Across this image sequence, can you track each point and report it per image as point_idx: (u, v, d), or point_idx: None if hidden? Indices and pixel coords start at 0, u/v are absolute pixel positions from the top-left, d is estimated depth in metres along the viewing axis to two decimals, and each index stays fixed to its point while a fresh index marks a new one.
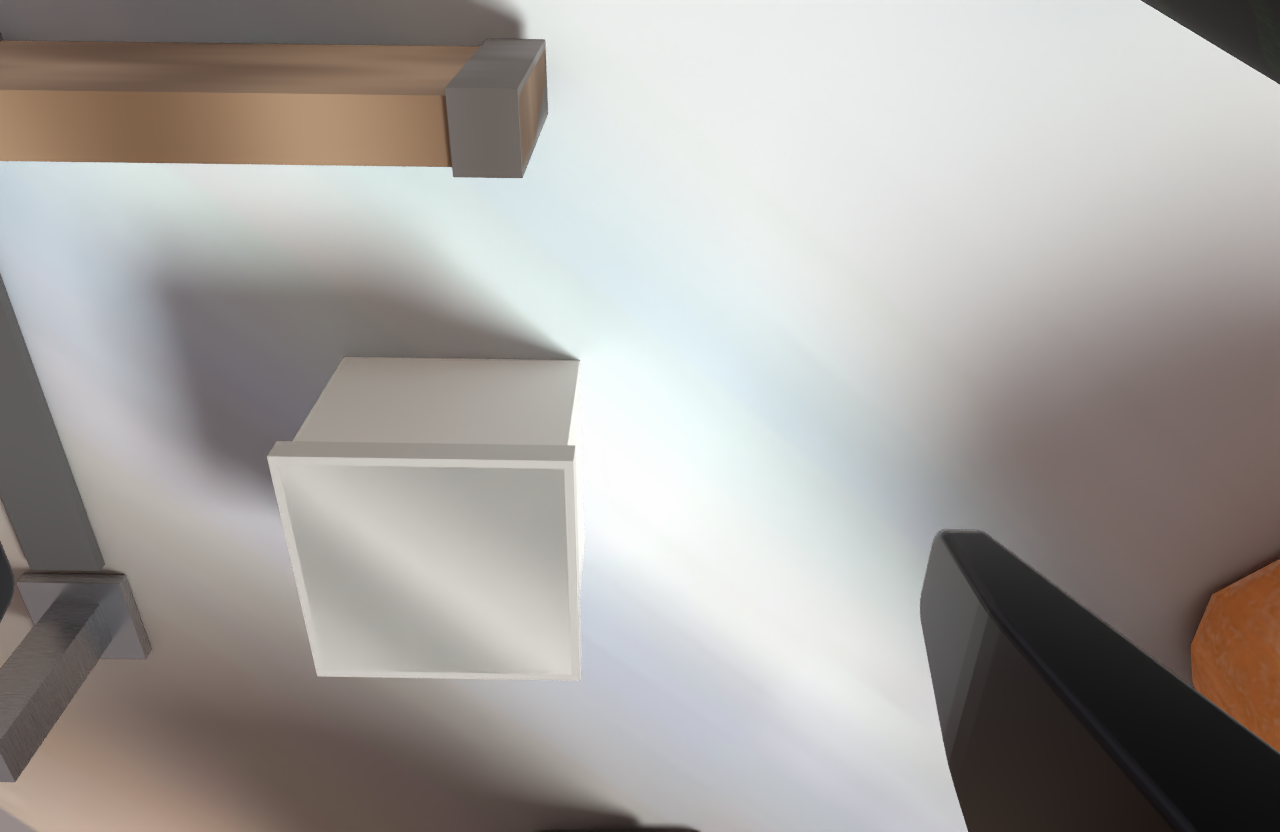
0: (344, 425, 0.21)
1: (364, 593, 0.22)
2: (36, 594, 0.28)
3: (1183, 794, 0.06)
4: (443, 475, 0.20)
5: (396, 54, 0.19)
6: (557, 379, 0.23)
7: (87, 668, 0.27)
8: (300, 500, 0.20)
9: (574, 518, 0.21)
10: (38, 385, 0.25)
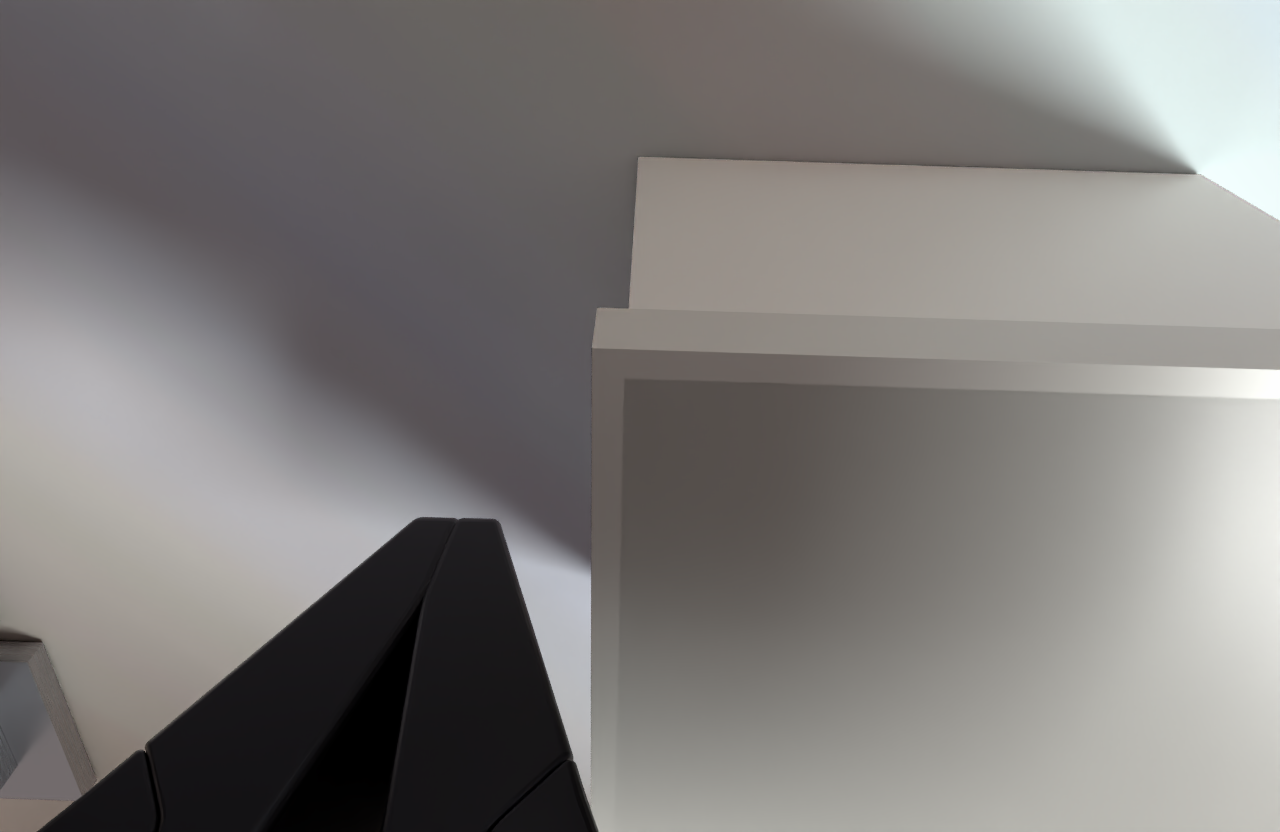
0: (758, 283, 0.07)
1: (780, 772, 0.08)
2: None
3: (417, 776, 0.06)
4: (1178, 427, 0.06)
5: None
6: (1207, 207, 0.09)
7: None
8: (666, 502, 0.06)
9: None
10: None
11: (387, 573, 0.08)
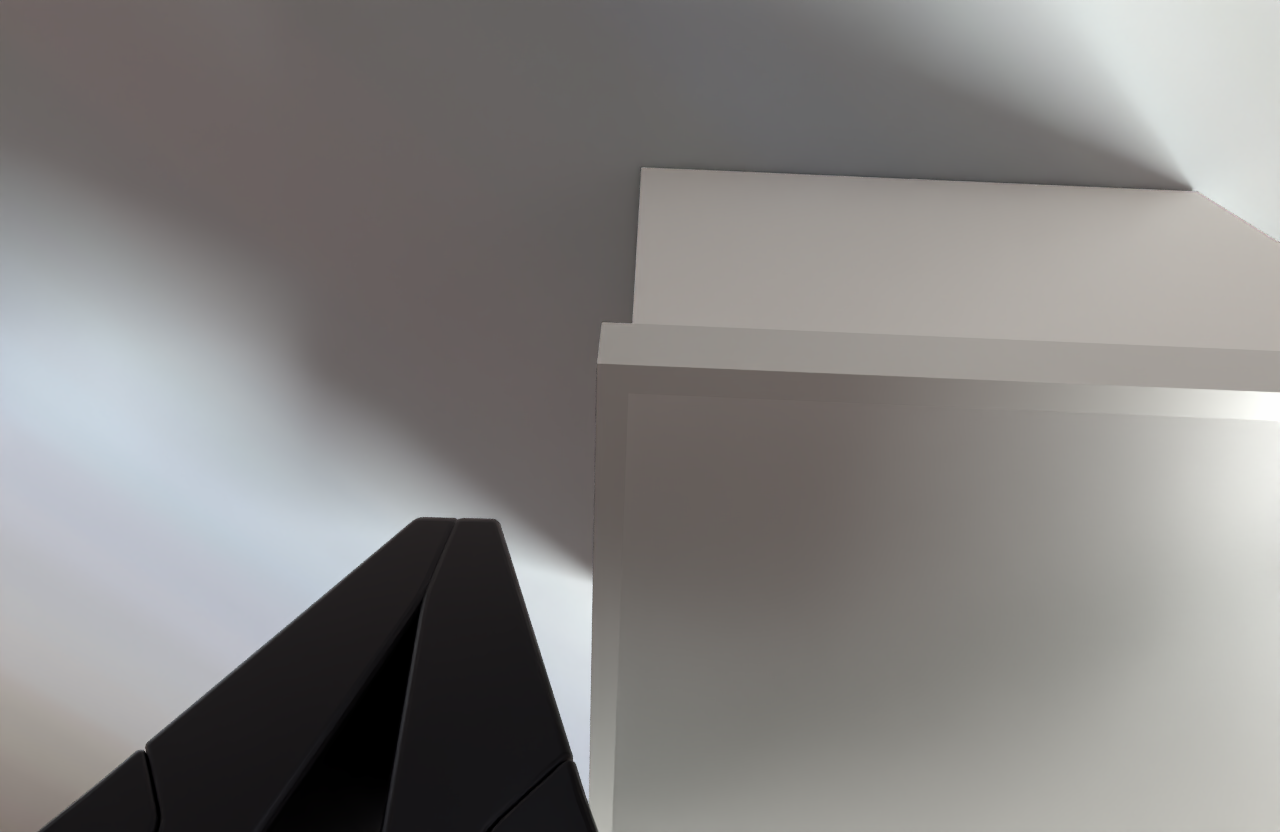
0: (758, 298, 0.07)
1: (776, 780, 0.08)
2: None
3: (417, 776, 0.06)
4: (1171, 447, 0.06)
5: None
6: (1203, 224, 0.09)
7: None
8: (668, 515, 0.06)
9: None
10: None
11: (387, 573, 0.08)
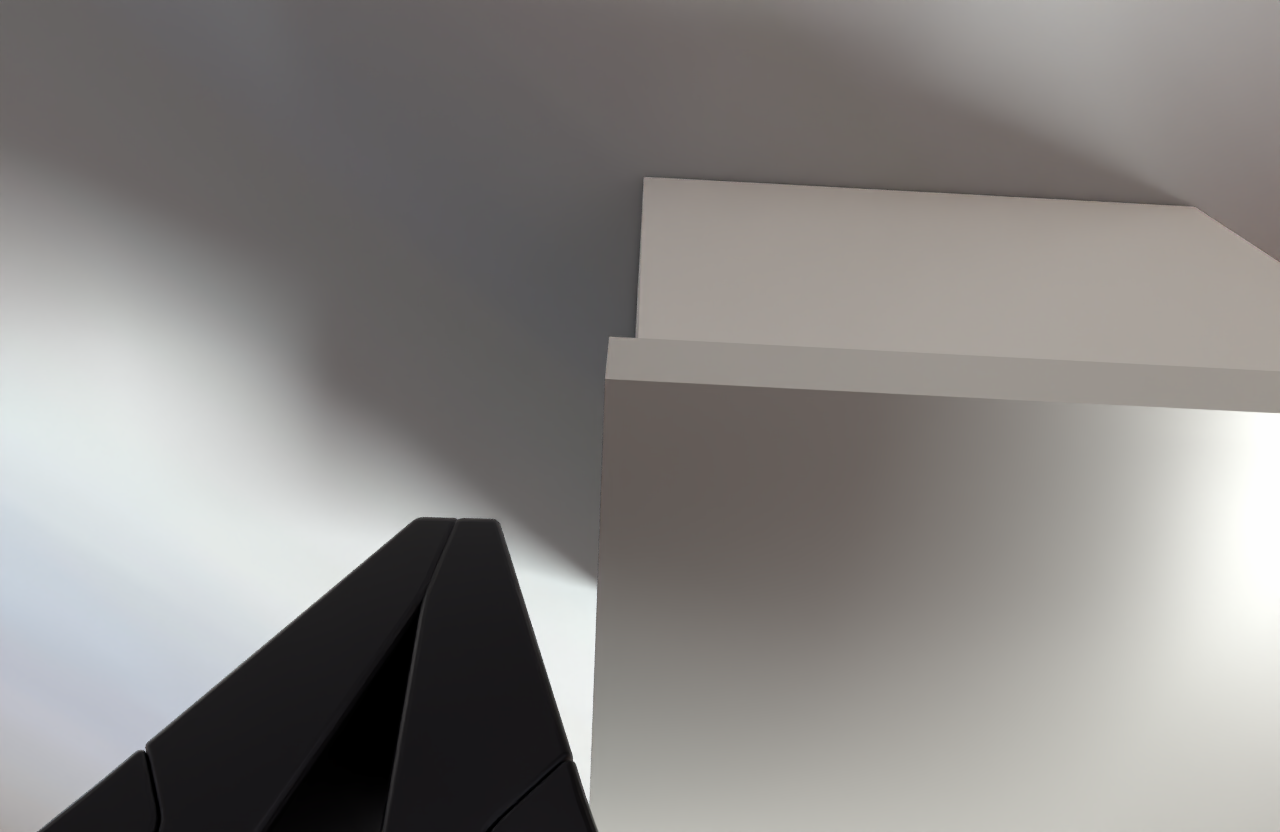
0: (764, 312, 0.07)
1: (775, 791, 0.08)
2: None
3: (416, 776, 0.06)
4: (1173, 465, 0.06)
5: None
6: (1201, 240, 0.09)
7: None
8: (672, 529, 0.06)
9: None
10: None
11: (387, 573, 0.08)
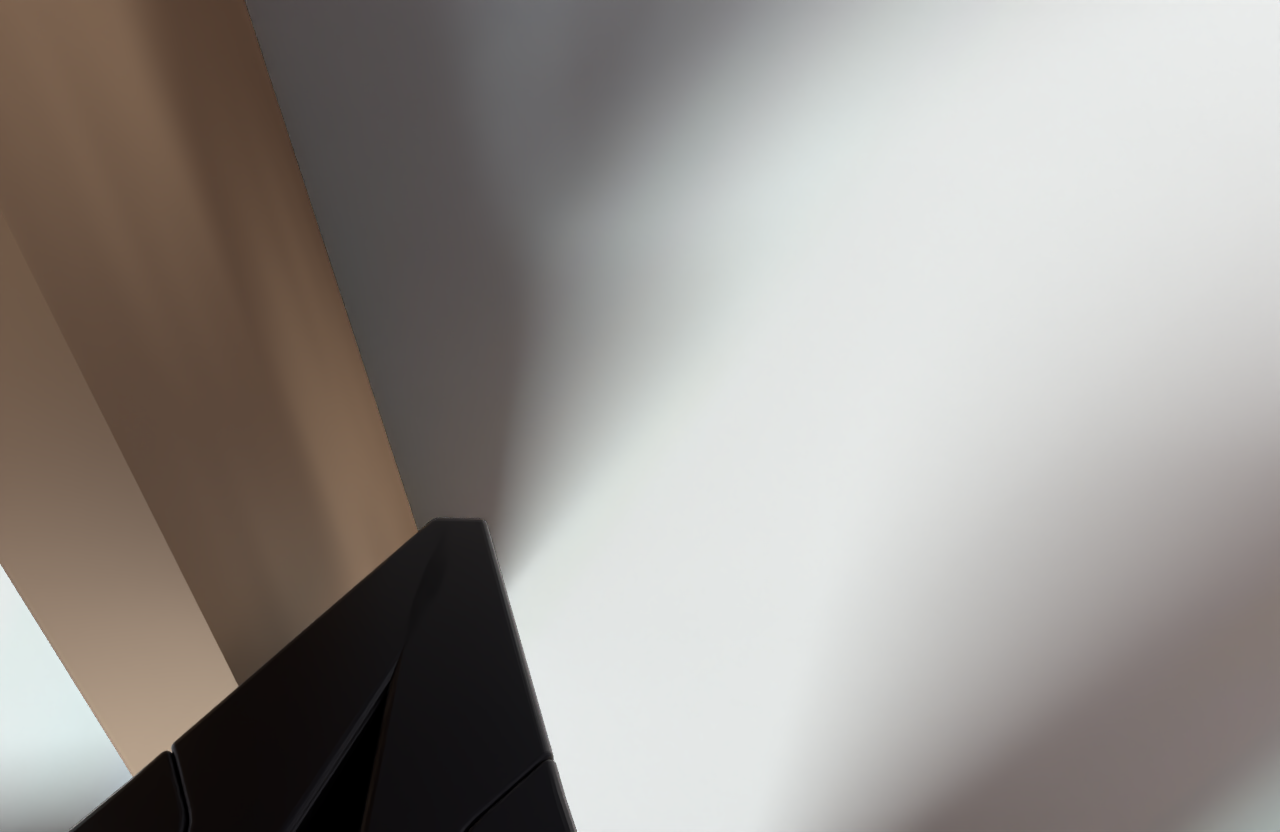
0: None
1: None
2: None
3: (396, 775, 0.06)
4: None
5: (389, 544, 0.11)
6: None
7: None
8: None
9: None
10: None
11: (406, 574, 0.08)
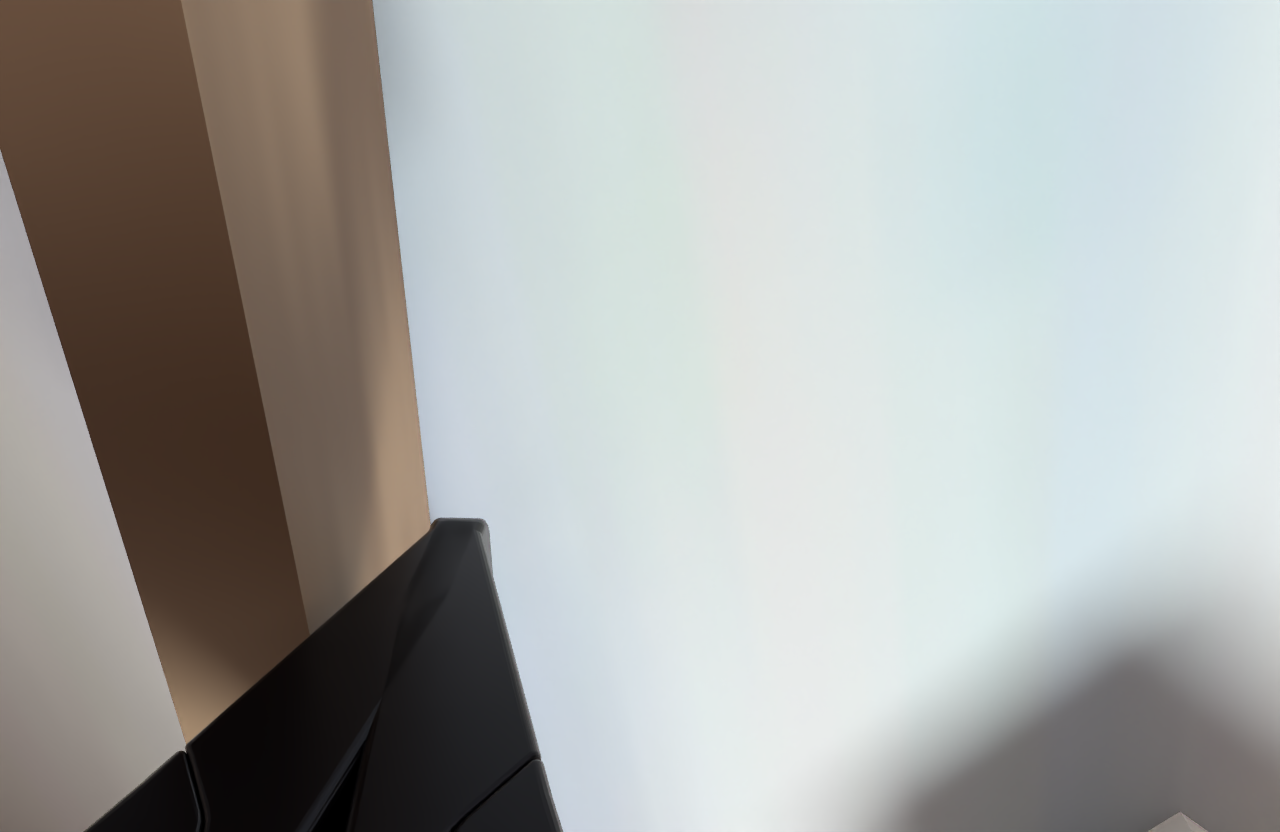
0: None
1: None
2: None
3: (383, 775, 0.06)
4: None
5: (413, 540, 0.11)
6: None
7: None
8: None
9: None
10: None
11: (417, 574, 0.08)
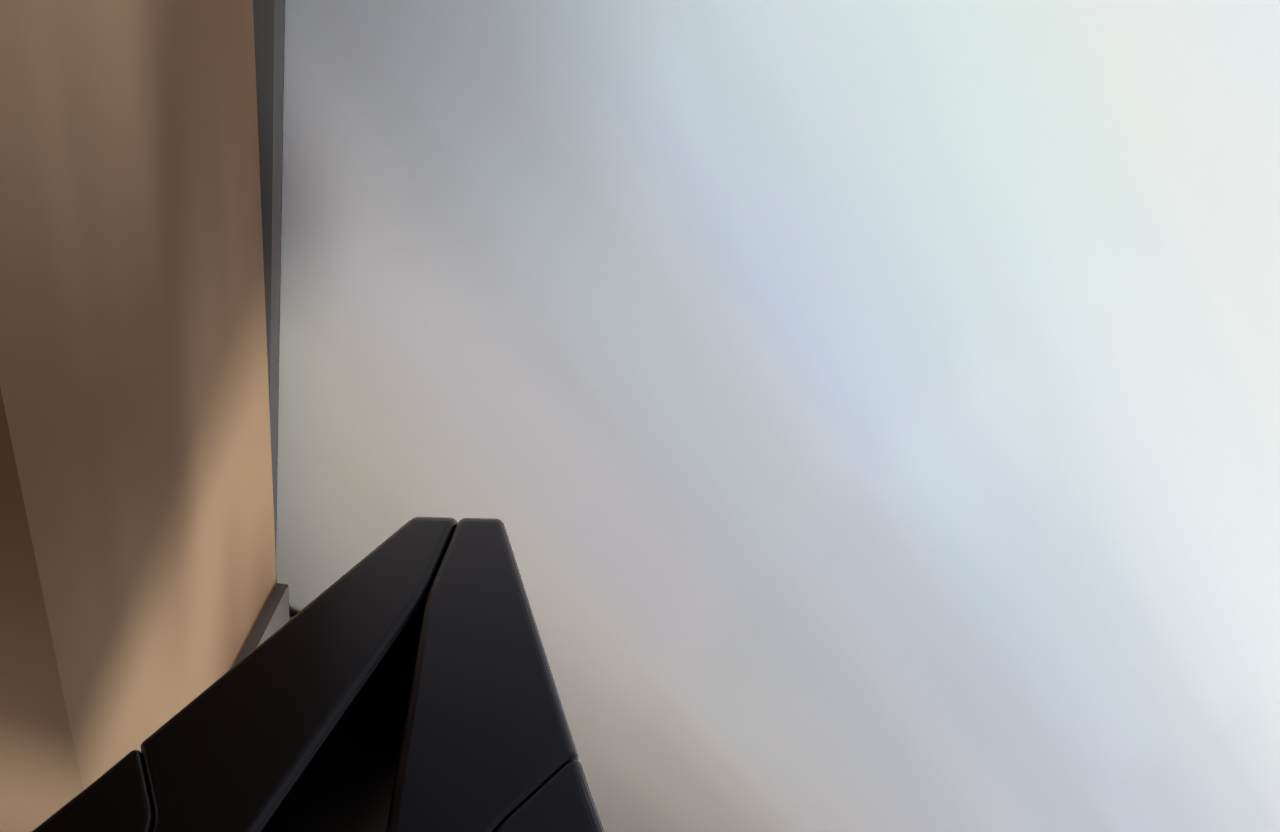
0: None
1: None
2: None
3: (422, 775, 0.06)
4: None
5: (242, 530, 0.11)
6: None
7: None
8: None
9: None
10: (279, 177, 0.10)
11: (383, 573, 0.08)
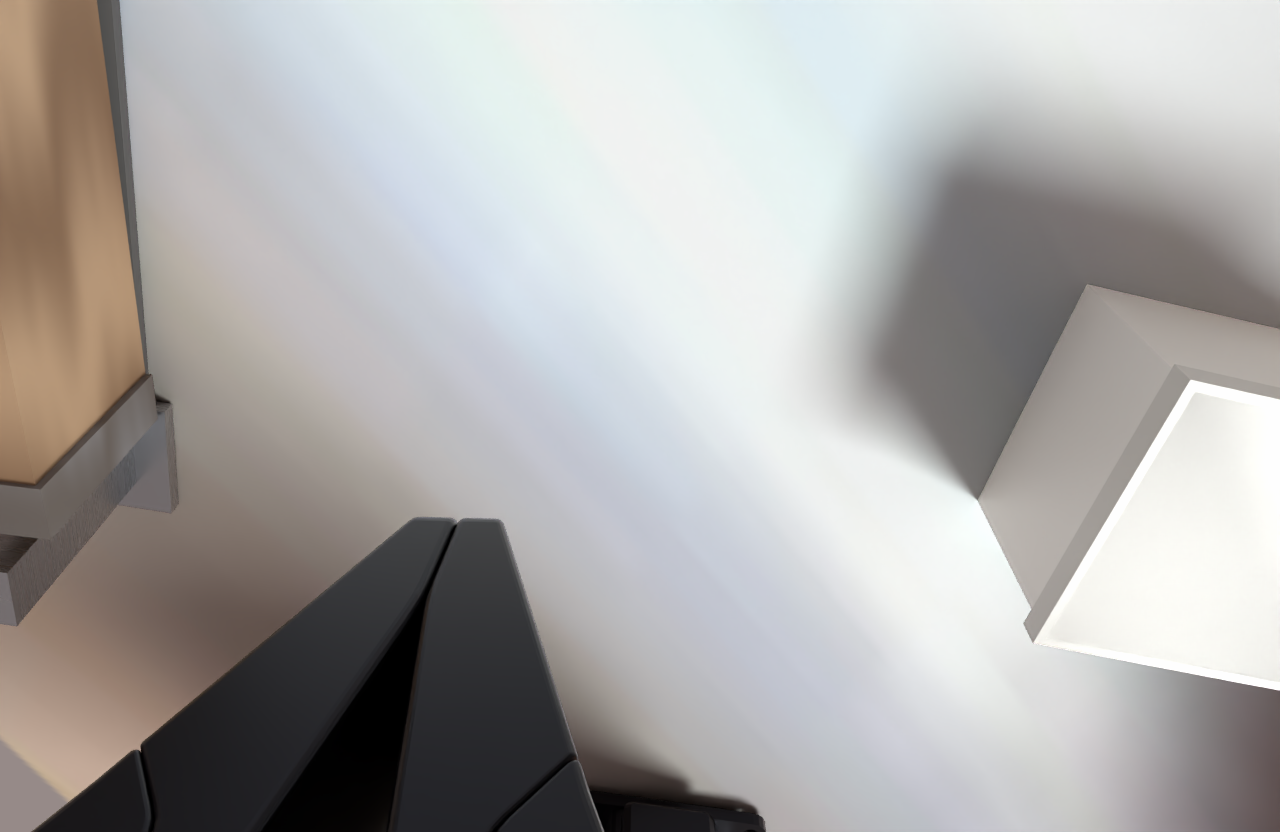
0: (1200, 362, 0.18)
1: (1163, 559, 0.19)
2: None
3: (422, 775, 0.06)
4: None
5: (114, 327, 0.20)
6: None
7: (108, 508, 0.22)
8: (1182, 438, 0.17)
9: None
10: (127, 135, 0.20)
11: (383, 573, 0.08)
